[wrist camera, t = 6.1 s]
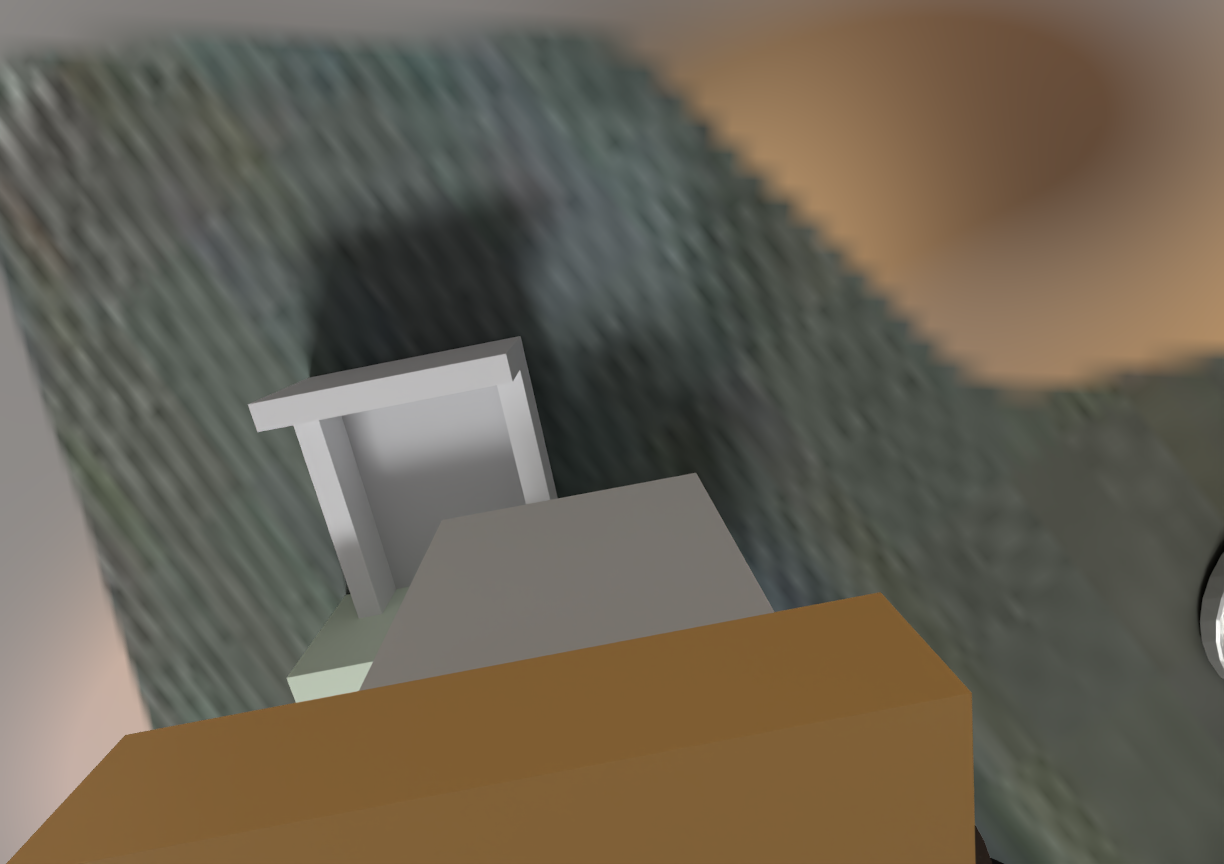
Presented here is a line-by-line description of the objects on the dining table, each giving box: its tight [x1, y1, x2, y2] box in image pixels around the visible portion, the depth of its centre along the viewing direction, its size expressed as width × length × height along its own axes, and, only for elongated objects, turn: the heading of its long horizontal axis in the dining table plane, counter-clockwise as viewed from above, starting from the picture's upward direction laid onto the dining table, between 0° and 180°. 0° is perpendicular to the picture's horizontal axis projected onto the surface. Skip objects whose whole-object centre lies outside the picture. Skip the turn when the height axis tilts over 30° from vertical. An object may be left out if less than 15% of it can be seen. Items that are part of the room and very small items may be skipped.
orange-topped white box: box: [6, 473, 975, 864], centre depth 9 cm, size 5×9×9 cm, turn 10°
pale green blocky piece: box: [248, 336, 558, 703], centre depth 24 cm, size 16×17×10 cm
